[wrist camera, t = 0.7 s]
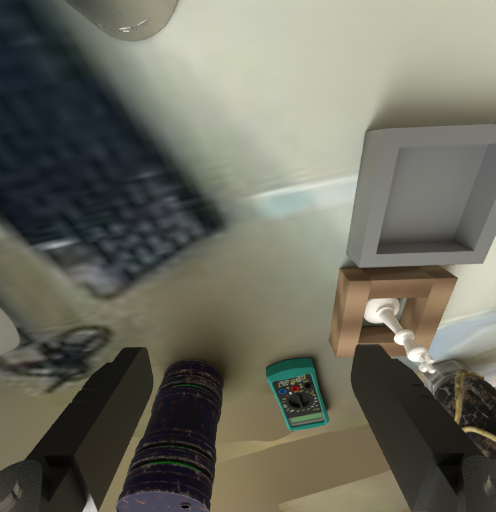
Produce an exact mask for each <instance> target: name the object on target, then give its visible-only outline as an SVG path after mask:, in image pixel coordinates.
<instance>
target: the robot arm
mask: <svg viewBox="0 0 496 512" xmlns="http://www.w3.org/2000/svg"><path fill="white" fill-rule="evenodd" d="M64 1H66V2H67V3H68V4H69V5H71V6H72V7H73V8H74V9H76V10H77V11H78V12H79V13H81V14H82V15H83V16H84V17H85V18H87V19H88V20H89V21H90V22H92V23H93V24H94V25H95V26H97V27H98V28H99V29H101V30H102V31H104V32H106V33H107V34H109V35H110V36H113V37H116V38H119V39H121V40H129V41H137V40H143V39H147V38H148V37H150V36H152V35H154V34H156V33H157V32H158V31H159V30H160V29H161V28H163V27H164V26H165V24H166V23H167V21H168V20H169V18H170V17H171V15H172V14H173V11H174V8H175V6H176V3H177V0H64ZM351 383H352V388H353V391H354V394H355V396H356V398H357V400H358V402H359V404H360V406H361V408H362V410H363V412H364V415H365V417H366V419H367V421H368V423H369V425H370V427H371V429H372V431H373V433H374V435H375V437H376V439H377V441H378V443H379V445H380V448H381V449H382V451H383V454H384V456H385V458H386V460H387V462H388V464H389V466H390V468H391V470H392V472H393V474H394V476H395V479H396V481H397V483H398V485H399V487H400V489H401V491H402V493H403V495H404V497H405V499H406V501H407V503H408V505H409V507H410V509H411V512H496V460H494V459H491V458H488V457H486V456H485V455H484V454H483V453H482V452H481V451H480V450H479V448H478V447H477V446H476V445H475V444H474V443H473V441H472V440H471V439H470V438H469V437H468V435H467V434H466V433H465V432H464V431H463V429H462V428H461V427H460V426H459V425H458V424H457V422H456V421H455V420H454V419H453V418H452V416H451V415H450V414H449V413H448V412H447V411H446V409H445V408H444V407H443V406H442V405H441V403H440V402H439V401H438V400H437V399H435V398H434V395H433V394H432V393H431V392H430V390H429V389H428V388H427V387H425V386H424V383H423V382H422V381H421V380H420V378H419V377H418V376H417V375H416V374H415V373H414V371H413V370H412V369H410V368H409V367H408V366H406V365H405V364H403V363H402V362H401V361H399V360H398V359H391V357H390V356H389V355H388V354H387V352H386V351H385V350H384V348H383V347H382V346H381V345H379V344H358V345H356V347H355V353H354V359H353V365H352V372H351ZM152 389H153V374H152V369H151V364H150V360H149V355H148V351H147V349H146V348H145V347H127V348H123V349H122V350H121V351H120V353H119V354H118V355H117V357H116V358H115V359H114V361H113V362H112V363H106V364H105V365H104V366H102V367H101V368H100V369H99V370H97V371H96V372H95V373H94V374H93V375H92V376H91V377H90V378H89V380H88V381H87V382H86V383H85V385H84V386H83V387H82V390H81V391H79V392H78V393H77V395H76V396H75V397H74V399H73V400H72V403H70V404H69V405H68V406H67V407H66V409H65V410H64V411H63V413H62V414H61V415H60V416H59V417H58V419H57V420H56V421H55V423H54V424H53V425H52V426H51V428H50V429H49V430H48V431H47V433H46V434H45V435H44V436H43V438H42V439H41V440H40V441H39V443H38V444H37V445H36V446H35V448H34V449H33V450H32V452H31V453H30V454H29V455H28V456H27V458H26V459H25V460H24V461H20V462H17V463H15V464H12V465H11V466H8V467H6V468H5V469H3V470H1V471H0V512H98V511H99V509H100V507H101V504H102V502H103V500H104V498H105V495H106V493H107V491H108V489H109V487H110V484H111V482H112V480H113V478H114V476H115V473H116V471H117V469H118V467H119V464H120V462H121V460H122V458H123V456H124V453H125V451H126V449H127V447H128V445H129V442H130V440H131V438H132V436H133V433H134V431H135V429H136V427H137V425H138V422H139V420H140V418H141V416H142V413H143V411H144V409H145V407H146V405H147V402H148V400H149V398H150V396H151V393H152Z"/></svg>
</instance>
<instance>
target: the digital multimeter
mask: <svg viewBox="0 0 496 512" xmlns="http://www.w3.org/2000/svg"><path fill="white" fill-rule="evenodd" d="M266 376H267V381H268V383H269V385H270V387H271V389H272V391H273V393H274V395H275V397H276V399H277V401H278V403H279V406H280V408H281V411H282V413H283V416H284V419H285V422H286V425H287V428H288V429H290V430H292V431H294V430H302V429H308V428H313V427H318V426H322V425H326V424H327V423H328V422H329V417H328V414H327V411H326V408H325V405H324V402H323V400H322V397H321V394H320V391H319V387H318V383H317V378H316V373H315V369H314V366H313V362H312V359H311V358H298V359H290V360H286V361H282V362H279V363H276V364H274V365H271V366H269V367H267V368H266Z"/></svg>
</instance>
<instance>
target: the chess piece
mask: <svg viewBox="0 0 496 512" xmlns="http://www.w3.org/2000/svg"><path fill="white" fill-rule="evenodd" d="M399 308H400V303H399V301H398V299H397V298H386V299H368V300H367V305H366V309H365V314H364V318H365V319H366V320H367V321H369V322H371V323H385V324H386V325H387V326H388V327H389V328H390V329H391V330H392V331H393V332H394V333H395V334H396V335H395V337H394V341H395V342H396V343H398V344H399V345H404V347H405V350H406V353H407V356H408V358H409V359H410V360H411V361H420V362H421V363H422V364H421V365H420V366H419V367H418V368H419V369H420V371H422V372H426V370H428V372H429V373H434V372H435V371H436V370H435V369H434V368H433V366H432V363H433V362H434V361H435V360H434V359H433V358H432V357H430V356H428V354H429V351H428V349H427V348H426V347H424V346H423V345H421V344H419V343H417V342H416V341H414V337H415V336H414V333H413V332H412V331H411V330H404V329H403V328H402V326H401V325H400V323H399V322H398V320H397V319H396V317H395V315H396V314H397V313H398V311H399ZM426 357H427V358H426Z"/></svg>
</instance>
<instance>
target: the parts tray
mask: <svg viewBox="0 0 496 512" xmlns="http://www.w3.org/2000/svg"><path fill="white" fill-rule="evenodd" d="M495 235H496V124H475V125H452V126H429V127H406V128H385V129H378V130H371V131H366V132H365V138H364V145H363V151H362V157H361V164H360V170H359V176H358V182H357V189H356V195H355V201H354V208H353V214H352V220H351V227H350V233H349V239H348V246H347V252H346V254H347V255H348V256H349V258H350V259H351V260H352V261H353V262H354V263H355V264H356V265H357V266H358V267H359V268H363V267H393V266H423V265H453V264H483V262H484V260H485V258H486V256H487V253H488V251H489V249H490V247H491V244H492V242H493V240H494V238H495Z"/></svg>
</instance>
